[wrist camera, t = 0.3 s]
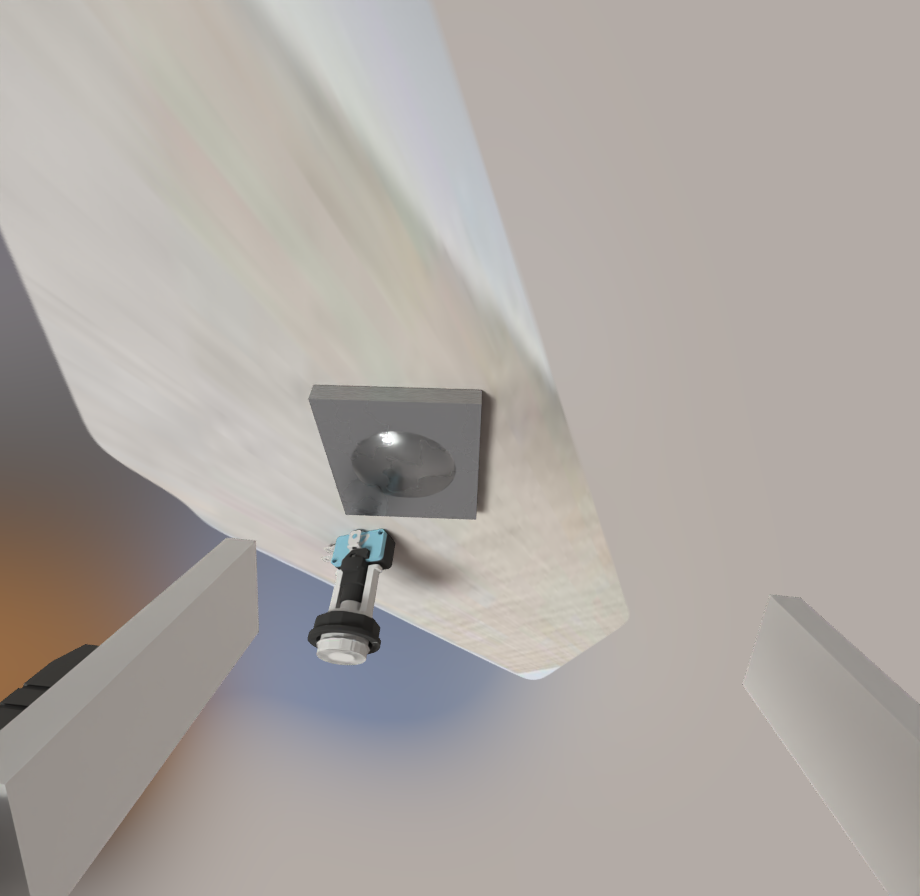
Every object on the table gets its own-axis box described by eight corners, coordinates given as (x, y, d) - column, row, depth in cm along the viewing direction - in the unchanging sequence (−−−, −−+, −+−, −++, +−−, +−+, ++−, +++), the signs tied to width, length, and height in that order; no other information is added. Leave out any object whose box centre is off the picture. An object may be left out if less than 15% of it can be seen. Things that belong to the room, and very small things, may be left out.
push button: (342, 558, 44) (316, 672, 38) (309, 529, 41) (273, 649, 34) (406, 548, 42) (390, 666, 36) (377, 516, 39) (354, 641, 32)
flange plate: (313, 385, 28) (308, 398, 27) (481, 390, 28) (481, 404, 27) (348, 501, 37) (345, 514, 36) (476, 506, 37) (476, 519, 36)
